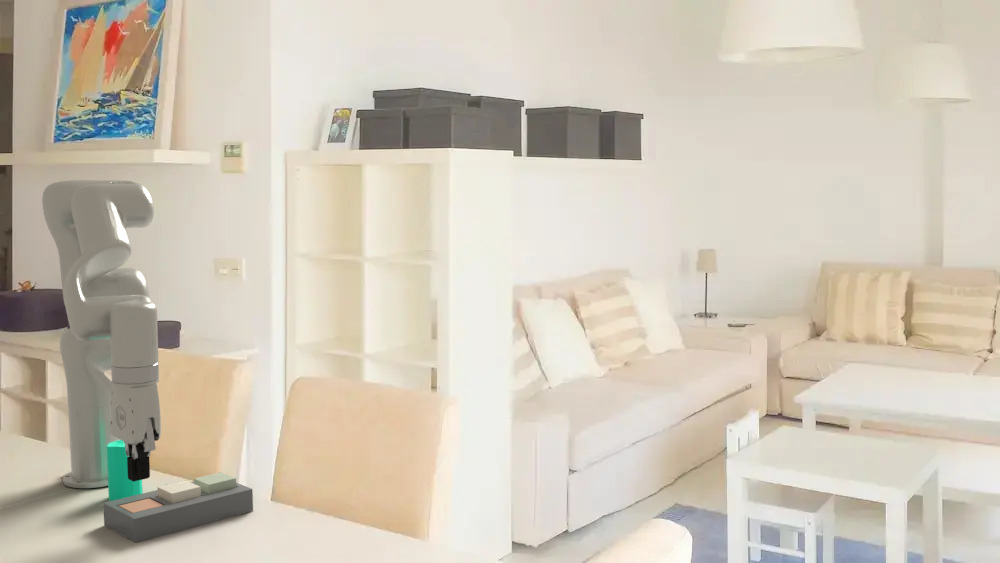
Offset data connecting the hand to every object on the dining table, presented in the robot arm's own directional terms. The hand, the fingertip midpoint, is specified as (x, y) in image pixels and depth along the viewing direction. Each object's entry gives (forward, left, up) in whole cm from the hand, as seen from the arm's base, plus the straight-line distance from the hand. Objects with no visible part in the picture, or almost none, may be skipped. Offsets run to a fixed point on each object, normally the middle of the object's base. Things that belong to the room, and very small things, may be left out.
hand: (138, 478), depth 165 cm
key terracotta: (+1, 0, -8) cm, 8 cm away
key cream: (+1, +7, -6) cm, 9 cm away
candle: (-18, +5, -9) cm, 20 cm away
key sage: (+1, +14, -6) cm, 15 cm away
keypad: (+1, +7, -9) cm, 11 cm away
